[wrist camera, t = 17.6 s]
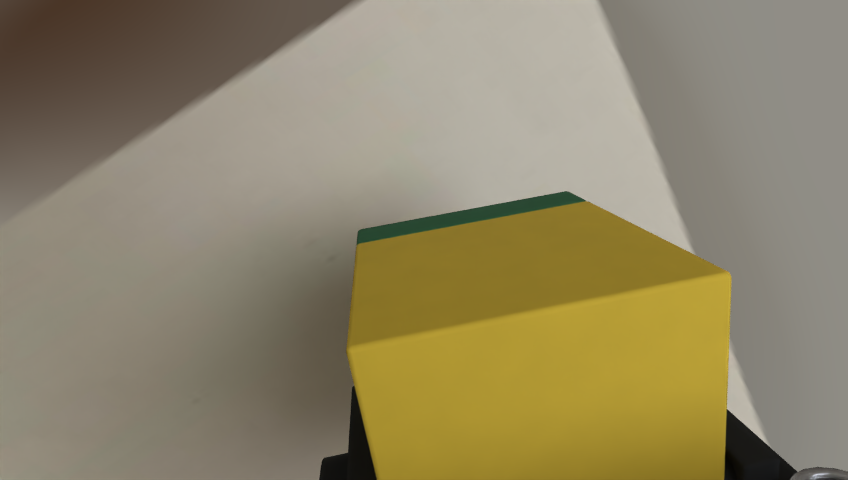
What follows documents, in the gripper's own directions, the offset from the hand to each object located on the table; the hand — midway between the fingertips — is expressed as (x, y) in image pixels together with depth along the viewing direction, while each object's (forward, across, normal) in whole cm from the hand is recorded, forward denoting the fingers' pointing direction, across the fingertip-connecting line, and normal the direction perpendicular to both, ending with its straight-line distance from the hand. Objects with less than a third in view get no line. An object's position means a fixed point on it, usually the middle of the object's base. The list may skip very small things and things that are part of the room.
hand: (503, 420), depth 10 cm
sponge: (+1, 0, 0) cm, 1 cm away
